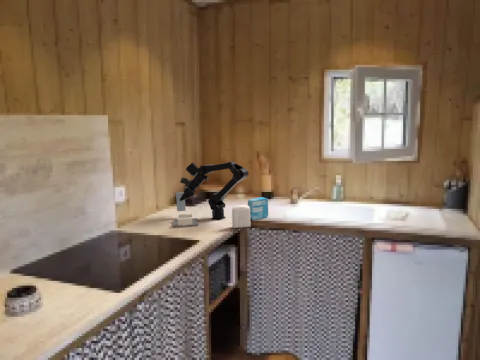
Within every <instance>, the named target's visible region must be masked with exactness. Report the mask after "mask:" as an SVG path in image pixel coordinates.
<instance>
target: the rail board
mask: <svg viewBox="0 0 480 360" xmlns="http://www.w3.org/2000/svg"><path fill="white" fill-rule="evenodd" d="M177 216H178V218H177V219H173V223H172V228H176V227H177V228H188V227H198V226H199V224H198V217H193V213H192V212H184V213H178V214H177Z"/></svg>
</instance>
